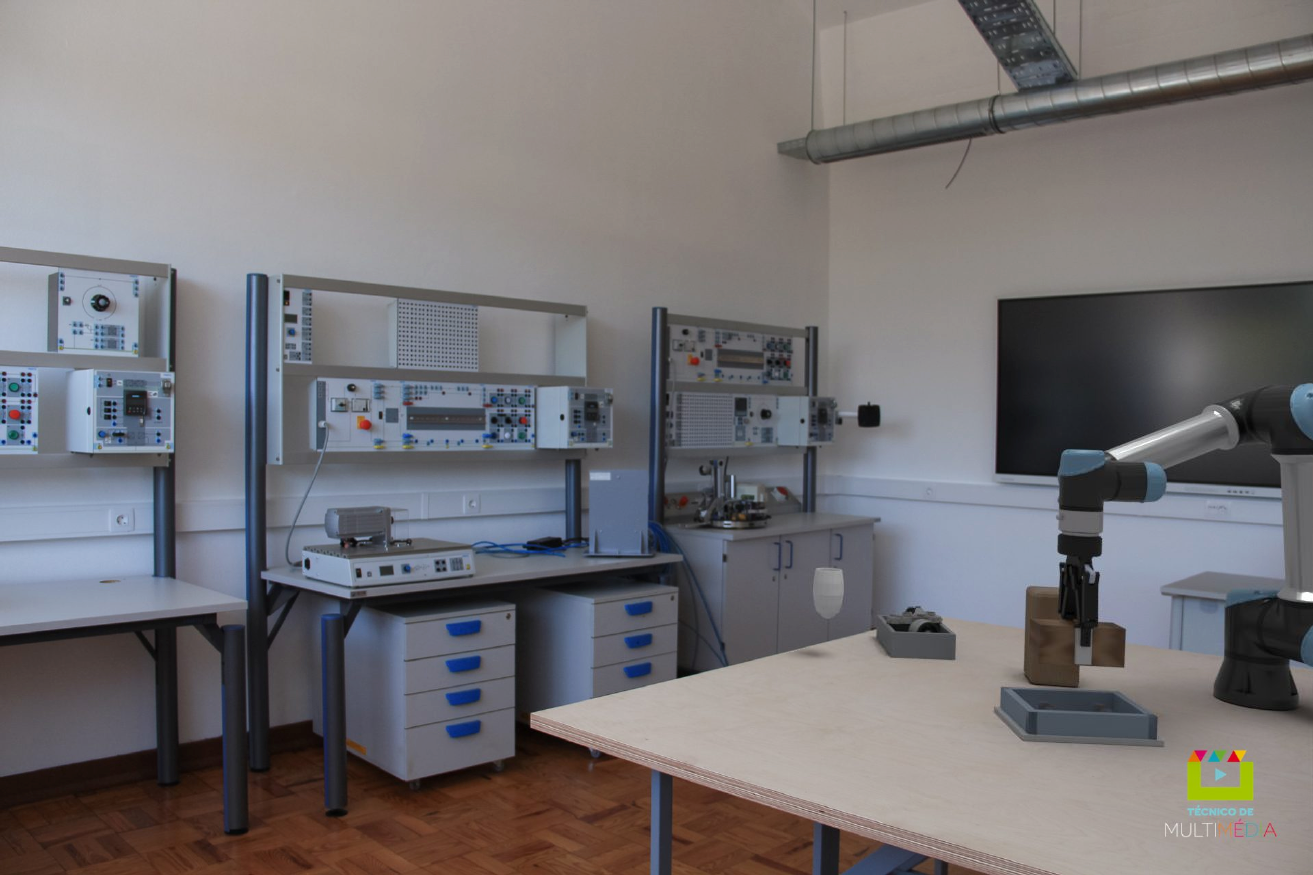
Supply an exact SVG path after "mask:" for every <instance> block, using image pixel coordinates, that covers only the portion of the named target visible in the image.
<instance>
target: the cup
mask: <svg viewBox="0 0 1313 875" xmlns="http://www.w3.org/2000/svg"><path fill="white" fill-rule="evenodd" d="M812 582H813V584H812V586H813V587H812V596H813V604H814V608H815V611H816V612H817V613H819V615H820V616H821V618H824V619H826V620H830V619H832V618H835V616H836V615H837V614H839V613H840V611H841V608H842V606H843V601H844V600H843V599H844V594H845V591H844V590H845V588H844V586H845V581H844V573H843V570H842V569H841V568H836V567H835V568H834V567H817V568H815V571H814V576H813V581H812Z"/></svg>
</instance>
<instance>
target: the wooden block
mask: <svg viewBox="0 0 1313 875" xmlns="http://www.w3.org/2000/svg"><path fill="white" fill-rule="evenodd" d="M1058 599H1059V586H1056V587H1055V586H1042V585H1041V586H1039V585H1030V586H1027V588H1026V589H1025V612H1024V616H1025V618H1024V620H1025V621H1024V649H1023V652H1024V654H1023V672H1024V674H1025V676H1026V677H1027V679H1028V680H1029V682H1030V683H1031V684H1034V685H1043V686H1056V687H1057V686H1058V687H1069V688H1070V687H1072V688H1075V687H1078V686H1079V684H1080V672H1081V671H1080V670H1081V669H1080V668H1081V667H1080V666H1078V665H1058V664H1039V663H1038V662H1036V661H1035V660H1034V659H1032V658H1031V657H1029V637H1030V619H1048V620H1064V619H1062V618H1061V614H1058ZM1074 621H1078V620H1074Z"/></svg>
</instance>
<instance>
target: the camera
mask: <svg viewBox="0 0 1313 875" xmlns="http://www.w3.org/2000/svg"><path fill="white" fill-rule="evenodd" d="M943 621H944V618H942V616H941V615H938V614H936V612H934V611H930V610H929V611H925V610H924V609H923V608H922V607H921V606H920V605H917V606H913V605H911V606H907V608H906V610H905V611H904V612H901V613H898V614H891V613H890V614H889V616H887V622H886V623H887V624H888V625H890V626H891V627H892V628H893V629H894V630H895V632H921V633H940V631H939V624H941V623H943Z"/></svg>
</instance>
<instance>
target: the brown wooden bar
mask: <svg viewBox="0 0 1313 875" xmlns="http://www.w3.org/2000/svg"><path fill="white" fill-rule="evenodd" d="M1076 624H1078V621H1070V620H1048V619H1030V637H1029V657H1031V658H1032V659H1034V660H1035V661H1036V662H1038V663H1039V664H1058V665H1078V666H1082V667H1083V666H1084V667H1087V666H1088V667H1098V668H1100V667H1101V668H1102V667H1103V668H1123V669H1125V665H1126V664H1125V660H1126V659H1125V658H1126V637H1127V634H1126V632H1127V629H1126V628H1125V627H1123V626H1121V625H1118V624H1116V623H1114V622H1109V621H1107V622H1106V621H1098V627H1094V629H1092V655H1091V665H1084V664H1075V663H1074V657H1075V628H1074V625H1076Z"/></svg>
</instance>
